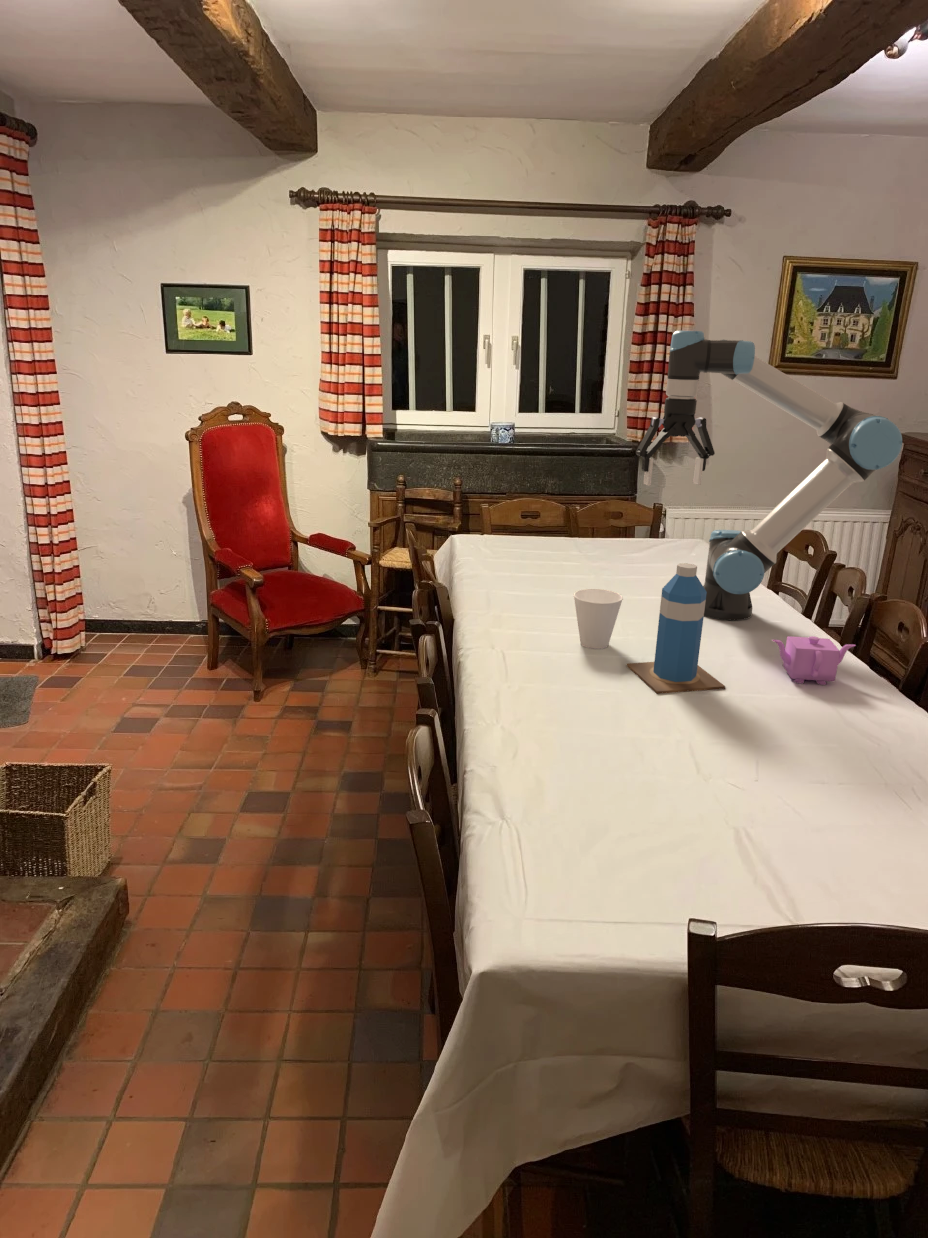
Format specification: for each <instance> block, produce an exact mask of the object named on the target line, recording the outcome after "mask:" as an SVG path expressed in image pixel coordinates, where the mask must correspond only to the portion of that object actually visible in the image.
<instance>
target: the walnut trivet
mask: <svg viewBox="0 0 928 1238" xmlns="http://www.w3.org/2000/svg"><path fill="white" fill-rule="evenodd" d="M626 668H628V669H629V670H630V671H631V672H632V673H633V674H634V675H636V676H637V677H638V678H639V679H640V680H641V681H642V682H643V683H644V684H645V685H646V686H647V687H649V688H650V689H651V690H652V691H653V692H654V693H655V694H656V695H660V694H661V695H662V694H672V693H673V694H675V693H676V694H677V693H687V692H688V693H689V692H702V691H715V690H725V689H726V685H724V684H723V683H722V682H720V681H719V680H718V679H717V678H716V677H714V676H713V675H711V674H710V673H709V672H707V671H706V670H705V669H703V667H701V666H700V665H698V666H697V674H696V677H695V678H694V679H693V680H692V681H685V682H673V681H669V680H665V679H661V678H659V677H658V676H657V675H656V674H655V673H654V672H653V670H654V661H647V662H644V661H642V662H631V663H630V662H629V663H626Z"/></svg>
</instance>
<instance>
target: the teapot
mask: <svg viewBox="0 0 928 1238" xmlns="http://www.w3.org/2000/svg"><path fill="white" fill-rule="evenodd" d="M771 641H772V642H774V643H776V644H777V646H778V650H779V656H780V659H781V660H782V667H783V668H784V670H785V671H786V672H787V674H788V676H789V677H790V679H791V680H793V679H794V683H797V684H804V682H805V680H806V681H816V684H817V685H822V686H826V685H827V683H826V682H836V677H837V672H838V666H839V665H840V664H841V662H842V661H843V659H844V657H845V655H846V653H847V652H848V651H849V650H850V649H851V648H854V647H856V646H857V645H856V644H853V643H851V644H849V643H848V644H847V643H846V644H844V645H843V646H842V647H841V648H840V650H839V648H838V647H837V646H836V645H835V644H834V642H833V641H832V640H831V639H830V638H823V637H822V638H821V637H818V636H814V635H811V636H808V637H807V636H806V637H805V636H793V635H792V636H789V635H788V636H787V637H786V643H785V644H784V642H783V641H782V640H780V639H771Z"/></svg>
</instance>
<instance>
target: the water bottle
mask: <svg viewBox="0 0 928 1238" xmlns="http://www.w3.org/2000/svg"><path fill="white" fill-rule="evenodd" d="M697 572H698V565H695V564H693V563H688V562H687V563H686V562H685V563H683V562H682V563H678V564H677V565H676V571H675V574H674V576H672V578H671V579H670V580H669V581H668V582H667V583H666V584H665V585H664V586H663V587H662V588H661V596H660V606H659V616H658V625H657V635H656V642H655V643H656V645H655V653H654V661H653V662H654V670H653V672H654V673H655V674H656V675H657V676H658V677H659V678H661V679H665V680H669V681H673V682H685V681H692V680H693V679H694V678H695V677H696V674H697V666H699V665H698V664H699V658H700V656H699V655H700V651H701V650H700V649H701V648H700V647H701V640H702V633H703V626H704V617H705V616H704V610H705V602H706V594H707V592H706V590H705V589H704V587H703V586H704V584H702V582H701V581H700V579H699V578H698V576H697Z"/></svg>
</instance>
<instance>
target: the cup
mask: <svg viewBox="0 0 928 1238" xmlns="http://www.w3.org/2000/svg"><path fill="white" fill-rule="evenodd" d="M573 599H574V605H575V614H576V621H577V627H578V634H579V642H580V645H581V646H583V647H584V648H588V649H592V650H598V649H599V650H601V649H602V650H603V649H605V648H608V647H609V644H610V642H611V641H610V640H611V637H612V635H613V631H614V628H615V625H616V621H617V618H618V616H619V612H620V608H621V605H622V602H623V600H624V598H623V596H622V594H620V593H618V592H617V591H616V592H615V591H613V590H608V589H601V588H586V589H579V590H577V591H575V592H574V593H573Z"/></svg>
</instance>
